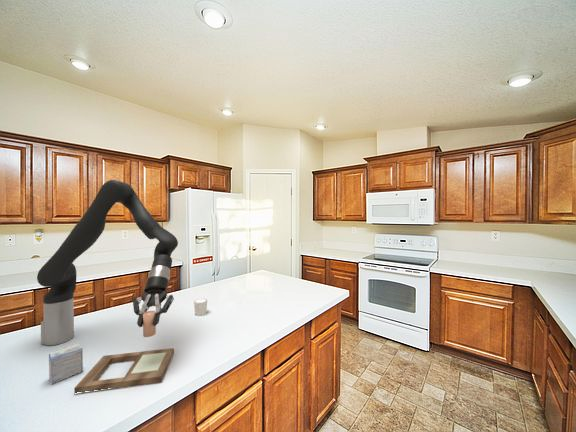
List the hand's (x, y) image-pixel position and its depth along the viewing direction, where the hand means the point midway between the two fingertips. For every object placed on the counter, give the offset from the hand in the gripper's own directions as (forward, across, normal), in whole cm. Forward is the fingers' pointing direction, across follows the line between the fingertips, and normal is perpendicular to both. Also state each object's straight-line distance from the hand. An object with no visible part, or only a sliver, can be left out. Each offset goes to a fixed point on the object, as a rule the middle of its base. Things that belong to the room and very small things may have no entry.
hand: (147, 325), depth 80 cm
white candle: (-20, +11, +44) cm, 49 cm away
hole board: (+10, -6, +13) cm, 17 cm away
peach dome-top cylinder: (+1, 0, +4) cm, 5 cm away
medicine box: (+9, -26, +14) cm, 31 cm away
